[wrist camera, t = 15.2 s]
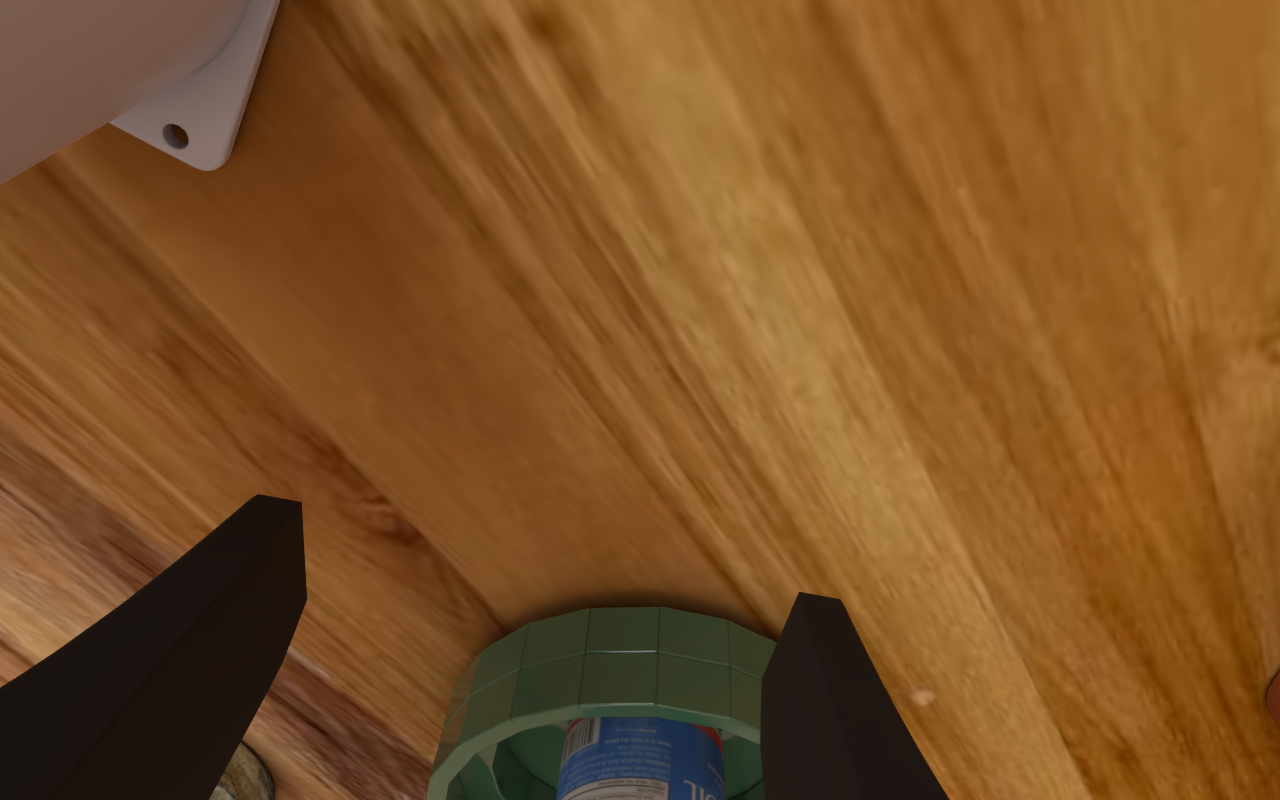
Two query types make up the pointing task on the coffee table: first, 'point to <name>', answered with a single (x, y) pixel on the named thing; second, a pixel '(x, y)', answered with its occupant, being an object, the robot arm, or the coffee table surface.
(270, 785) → the seashell
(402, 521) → the coffee table surface
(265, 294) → the coffee table surface
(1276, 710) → the alarm clock
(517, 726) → the bowl
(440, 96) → the coffee table surface
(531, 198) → the coffee table surface
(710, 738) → the pill bottle
